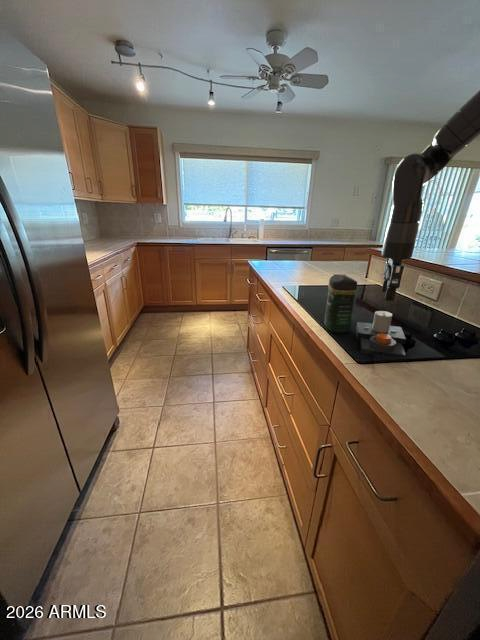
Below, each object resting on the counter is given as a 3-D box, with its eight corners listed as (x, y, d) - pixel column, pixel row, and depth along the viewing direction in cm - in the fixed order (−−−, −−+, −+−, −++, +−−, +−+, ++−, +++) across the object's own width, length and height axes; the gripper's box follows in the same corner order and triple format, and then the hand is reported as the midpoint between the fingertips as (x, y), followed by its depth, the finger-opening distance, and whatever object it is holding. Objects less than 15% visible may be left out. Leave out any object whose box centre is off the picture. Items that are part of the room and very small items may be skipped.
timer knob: (371, 325, 85) (374, 309, 83) (387, 327, 84) (391, 310, 81) (372, 331, 81) (375, 314, 79) (389, 333, 80) (393, 316, 77)
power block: (400, 348, 78) (403, 337, 76) (404, 360, 72) (407, 349, 70) (360, 342, 81) (362, 332, 80) (360, 353, 75) (362, 342, 74)
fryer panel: (399, 335, 85) (401, 326, 84) (403, 348, 78) (406, 338, 76) (356, 329, 90) (357, 321, 89) (356, 341, 82) (358, 332, 81)
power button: (389, 339, 76) (390, 334, 75) (390, 345, 73) (392, 339, 72) (375, 337, 77) (376, 332, 77) (376, 343, 74) (377, 337, 74)
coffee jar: (353, 334, 87) (362, 279, 79) (329, 334, 87) (336, 280, 79) (343, 322, 96) (350, 272, 88) (321, 322, 96) (327, 272, 88)
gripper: (421, 243, 64) (405, 305, 71) (410, 237, 76) (397, 290, 83) (387, 242, 67) (375, 302, 73) (381, 236, 79) (371, 288, 85)
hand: (387, 296), depth 78 cm, fingers open, 8 cm apart
